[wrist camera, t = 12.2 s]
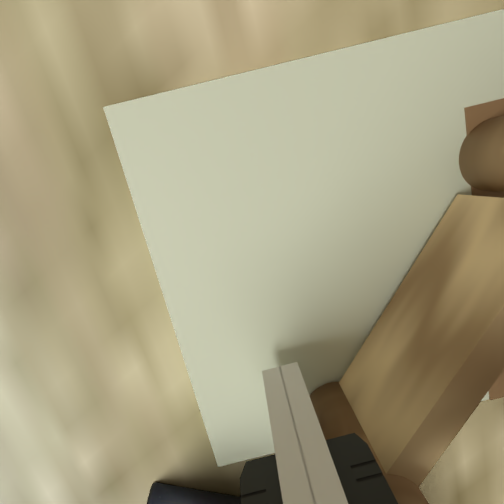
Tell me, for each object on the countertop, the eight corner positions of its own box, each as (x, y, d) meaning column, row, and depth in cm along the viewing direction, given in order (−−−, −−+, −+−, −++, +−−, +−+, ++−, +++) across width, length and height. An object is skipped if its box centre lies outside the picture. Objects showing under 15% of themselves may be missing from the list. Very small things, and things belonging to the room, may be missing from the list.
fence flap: (439, 184, 13) (618, 191, 7) (495, 217, 13) (709, 250, 7) (293, 422, 15) (333, 587, 9) (345, 444, 15) (418, 616, 9)
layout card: (845, -73, 12) (863, -80, 12) (789, 318, 16) (801, 322, 16) (106, 108, 12) (102, 106, 12) (218, 461, 16) (218, 468, 15)
